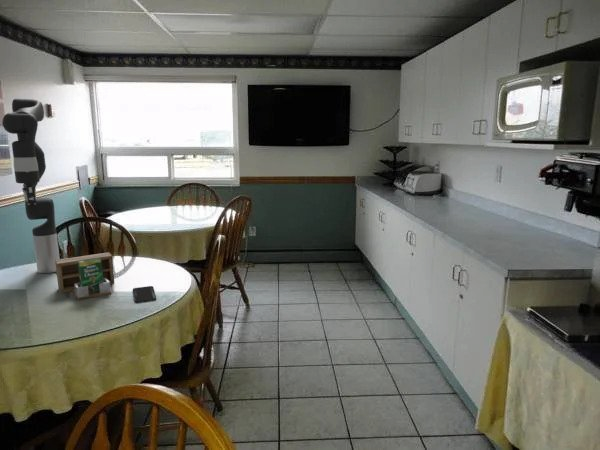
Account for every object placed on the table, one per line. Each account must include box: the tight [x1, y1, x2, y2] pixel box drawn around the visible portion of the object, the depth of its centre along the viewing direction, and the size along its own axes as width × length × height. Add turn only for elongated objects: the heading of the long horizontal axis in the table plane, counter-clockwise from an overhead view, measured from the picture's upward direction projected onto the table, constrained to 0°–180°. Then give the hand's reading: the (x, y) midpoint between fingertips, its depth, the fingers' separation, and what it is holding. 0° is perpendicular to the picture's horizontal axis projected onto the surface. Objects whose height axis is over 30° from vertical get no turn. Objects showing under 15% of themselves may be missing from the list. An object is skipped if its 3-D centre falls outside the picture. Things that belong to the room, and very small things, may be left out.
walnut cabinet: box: [55, 251, 115, 301], centre depth 172 cm, size 18×20×12 cm
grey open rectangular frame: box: [74, 278, 112, 298], centre depth 168 cm, size 6×12×4 cm, turn 126°
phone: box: [132, 285, 157, 304], centre depth 168 cm, size 8×1×15 cm
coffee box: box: [77, 258, 104, 294], centre depth 167 cm, size 8×3×13 cm, turn 127°
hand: (31, 213), depth 162 cm, fingers open, 8 cm apart
